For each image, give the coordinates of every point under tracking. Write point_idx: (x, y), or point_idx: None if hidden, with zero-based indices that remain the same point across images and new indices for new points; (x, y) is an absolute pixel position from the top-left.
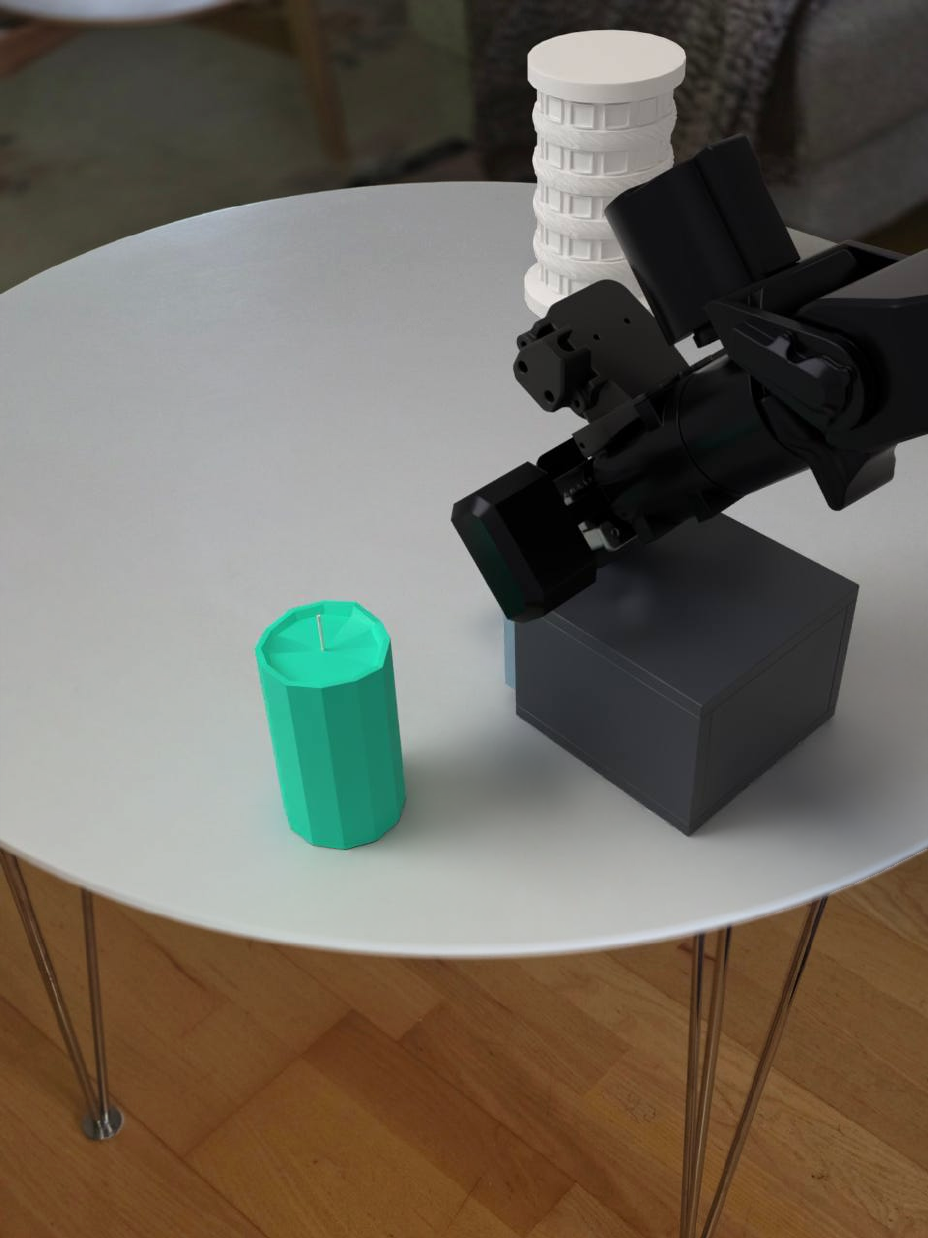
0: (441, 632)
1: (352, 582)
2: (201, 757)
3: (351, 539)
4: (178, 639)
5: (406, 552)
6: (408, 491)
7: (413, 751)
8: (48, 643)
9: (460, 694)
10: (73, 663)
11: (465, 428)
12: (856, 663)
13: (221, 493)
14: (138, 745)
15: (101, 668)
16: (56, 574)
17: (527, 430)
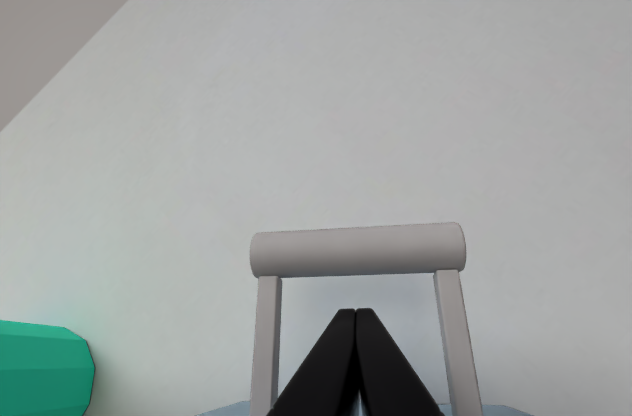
0: None
1: (272, 148)
2: (31, 246)
3: (315, 101)
4: (130, 122)
5: (341, 144)
6: (407, 75)
7: (126, 386)
8: (79, 75)
9: (220, 355)
10: (71, 101)
11: (525, 28)
12: None
13: (279, 3)
14: (22, 201)
15: (76, 116)
16: (136, 21)
17: (589, 61)
